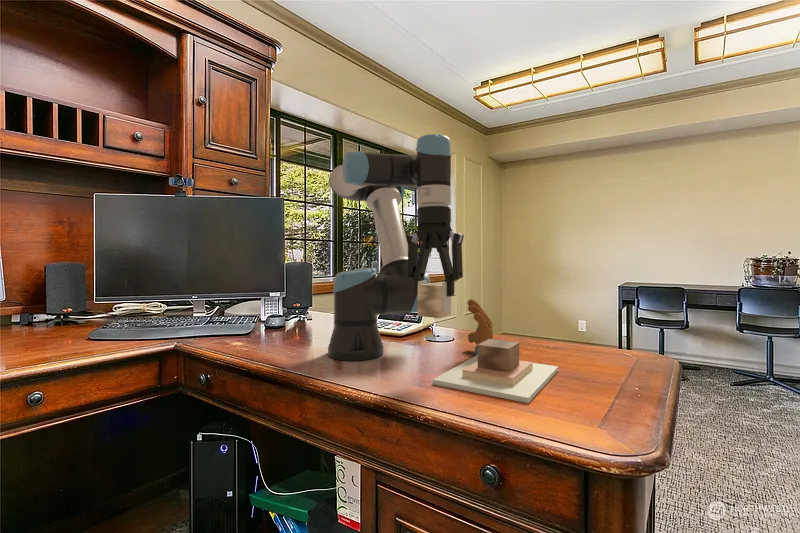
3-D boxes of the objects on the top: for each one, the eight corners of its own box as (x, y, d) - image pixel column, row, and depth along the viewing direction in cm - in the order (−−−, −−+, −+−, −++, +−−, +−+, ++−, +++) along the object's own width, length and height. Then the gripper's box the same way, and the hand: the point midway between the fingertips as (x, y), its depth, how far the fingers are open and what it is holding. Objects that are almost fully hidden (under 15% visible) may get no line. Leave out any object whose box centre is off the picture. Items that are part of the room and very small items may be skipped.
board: (432, 384, 85) (432, 372, 85) (477, 358, 105) (477, 349, 105) (528, 403, 74) (528, 389, 74) (558, 370, 94) (558, 360, 94)
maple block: (417, 316, 90) (417, 284, 90) (429, 313, 95) (430, 283, 95) (439, 318, 87) (439, 285, 87) (450, 315, 92) (451, 284, 92)
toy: (467, 348, 116) (467, 296, 116) (492, 349, 115) (492, 296, 115) (467, 359, 104) (467, 301, 104) (495, 360, 103) (495, 302, 103)
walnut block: (477, 367, 88) (477, 344, 88) (489, 360, 94) (489, 338, 94) (508, 372, 85) (509, 348, 84) (519, 364, 90) (519, 342, 90)
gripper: (390, 208, 92) (391, 309, 93) (464, 201, 82) (465, 315, 83) (408, 210, 99) (408, 305, 99) (479, 205, 88) (479, 311, 89)
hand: (434, 309), depth 91 cm, fingers closed on maple block, 5 cm apart
